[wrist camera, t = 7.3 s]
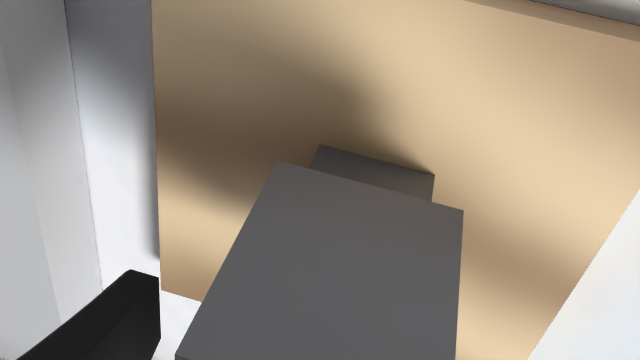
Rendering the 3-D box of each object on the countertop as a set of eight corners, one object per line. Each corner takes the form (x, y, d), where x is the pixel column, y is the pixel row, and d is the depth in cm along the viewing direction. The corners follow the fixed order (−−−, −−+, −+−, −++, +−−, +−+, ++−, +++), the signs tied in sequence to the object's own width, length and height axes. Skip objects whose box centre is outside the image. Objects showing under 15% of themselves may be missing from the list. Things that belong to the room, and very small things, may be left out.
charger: (414, 285, 17) (373, 573, 11) (283, 248, 17) (174, 506, 11) (467, 147, 13) (450, 446, 8) (306, 105, 14) (171, 360, 8)
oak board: (504, 367, 19) (504, 392, 18) (173, 269, 20) (161, 289, 20) (707, 42, 12) (723, 62, 11) (169, -85, 13) (148, -75, 12)
